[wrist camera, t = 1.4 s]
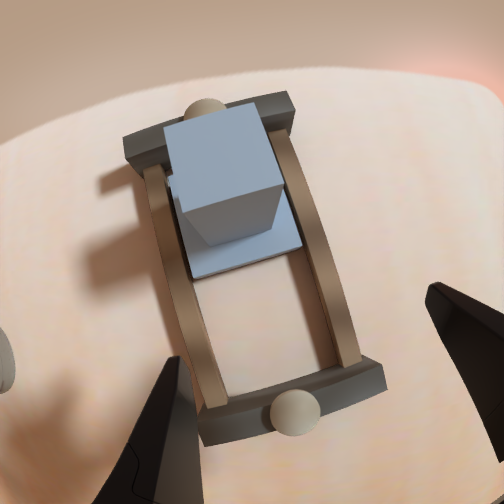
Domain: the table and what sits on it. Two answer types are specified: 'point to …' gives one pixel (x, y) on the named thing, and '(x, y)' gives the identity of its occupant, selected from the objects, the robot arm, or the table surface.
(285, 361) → the table surface
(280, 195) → the carriage
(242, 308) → the table surface
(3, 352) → the thermos bottle
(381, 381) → the track
